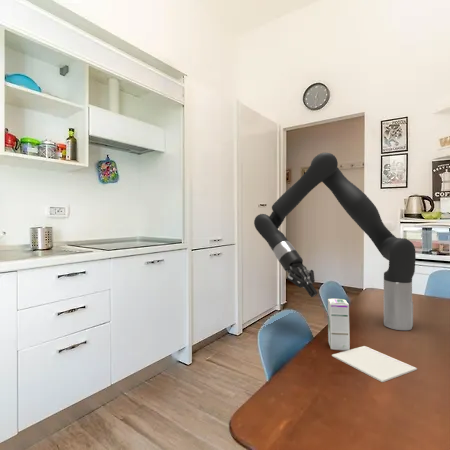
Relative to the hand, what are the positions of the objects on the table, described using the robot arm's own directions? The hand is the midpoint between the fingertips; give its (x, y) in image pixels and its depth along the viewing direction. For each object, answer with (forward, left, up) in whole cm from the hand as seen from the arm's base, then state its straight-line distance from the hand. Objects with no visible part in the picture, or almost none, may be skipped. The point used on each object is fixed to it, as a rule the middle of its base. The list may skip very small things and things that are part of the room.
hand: (314, 295), depth 100 cm
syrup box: (-2, +9, -15) cm, 17 cm away
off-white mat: (-2, +21, -14) cm, 25 cm away
